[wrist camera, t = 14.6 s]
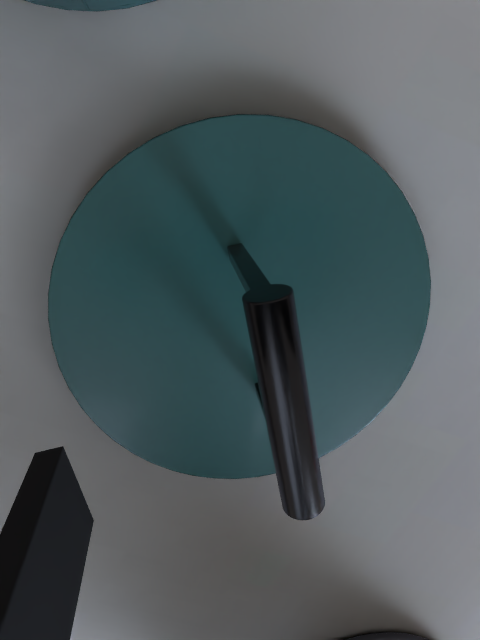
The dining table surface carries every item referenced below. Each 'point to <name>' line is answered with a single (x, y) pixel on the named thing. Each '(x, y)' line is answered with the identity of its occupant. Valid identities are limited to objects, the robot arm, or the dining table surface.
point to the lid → (240, 300)
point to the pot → (90, 4)
